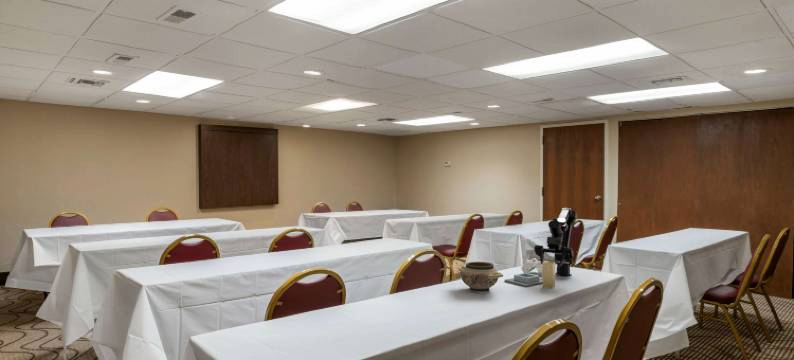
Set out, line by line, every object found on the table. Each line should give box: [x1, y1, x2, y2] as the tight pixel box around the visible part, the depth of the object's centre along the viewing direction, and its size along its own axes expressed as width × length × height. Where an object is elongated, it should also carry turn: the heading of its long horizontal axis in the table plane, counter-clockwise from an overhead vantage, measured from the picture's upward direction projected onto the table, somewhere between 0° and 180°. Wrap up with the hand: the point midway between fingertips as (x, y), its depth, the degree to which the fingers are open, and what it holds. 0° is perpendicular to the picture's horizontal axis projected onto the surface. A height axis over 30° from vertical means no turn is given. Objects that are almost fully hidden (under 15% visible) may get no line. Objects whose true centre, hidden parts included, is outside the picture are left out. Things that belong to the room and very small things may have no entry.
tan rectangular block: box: [541, 260, 556, 289], centre depth 227 cm, size 5×5×12 cm
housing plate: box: [504, 272, 542, 288], centre depth 237 cm, size 18×14×4 cm
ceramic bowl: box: [457, 261, 504, 294], centre depth 219 cm, size 24×18×15 cm
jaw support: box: [521, 257, 542, 276], centre depth 258 cm, size 12×9×10 cm
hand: (550, 264), depth 230 cm, fingers open, 9 cm apart
